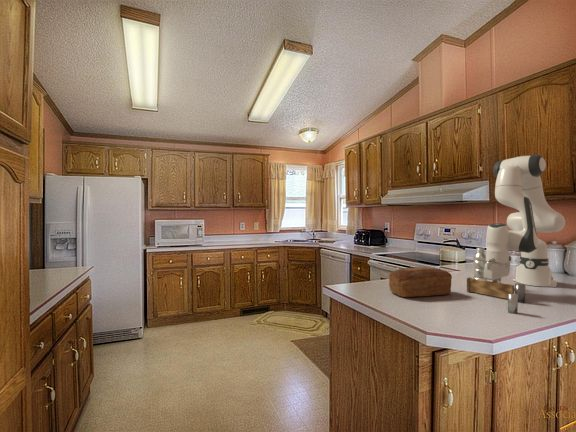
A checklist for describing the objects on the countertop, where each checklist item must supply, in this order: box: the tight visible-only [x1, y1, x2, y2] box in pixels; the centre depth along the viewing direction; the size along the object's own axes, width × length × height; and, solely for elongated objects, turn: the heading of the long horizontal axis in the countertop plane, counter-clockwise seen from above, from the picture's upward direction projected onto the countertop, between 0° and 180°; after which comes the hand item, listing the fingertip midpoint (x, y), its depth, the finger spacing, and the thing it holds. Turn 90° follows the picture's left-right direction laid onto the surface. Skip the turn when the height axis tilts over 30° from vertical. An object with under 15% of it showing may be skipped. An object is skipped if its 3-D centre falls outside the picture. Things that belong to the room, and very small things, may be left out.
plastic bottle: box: [472, 247, 488, 281], centre depth 158 cm, size 6×7×20 cm
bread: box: [388, 266, 453, 298], centre depth 143 cm, size 14×28×12 cm, turn 103°
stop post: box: [507, 293, 519, 315], centre depth 117 cm, size 3×3×7 cm
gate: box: [466, 277, 515, 300], centre depth 140 cm, size 18×2×6 cm, turn 36°
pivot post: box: [514, 282, 526, 304], centre depth 131 cm, size 4×4×8 cm
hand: (496, 287), depth 144 cm, fingers closed
